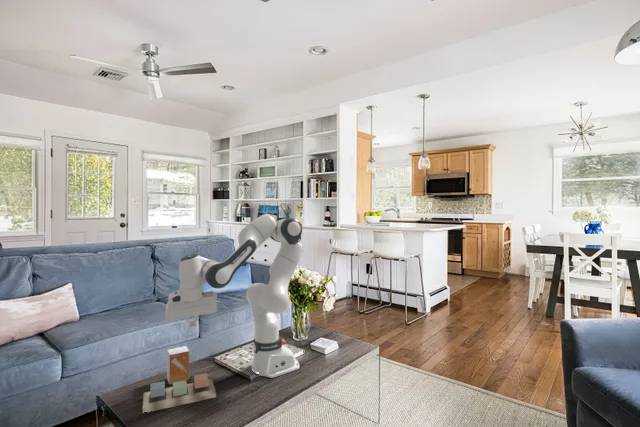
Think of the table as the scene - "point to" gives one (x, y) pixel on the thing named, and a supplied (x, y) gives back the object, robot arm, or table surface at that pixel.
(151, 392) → the slate button
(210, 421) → the table surface
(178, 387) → the sage button
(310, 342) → the table surface
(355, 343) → the table surface
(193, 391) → the button board
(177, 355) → the small box
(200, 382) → the terracotta button
